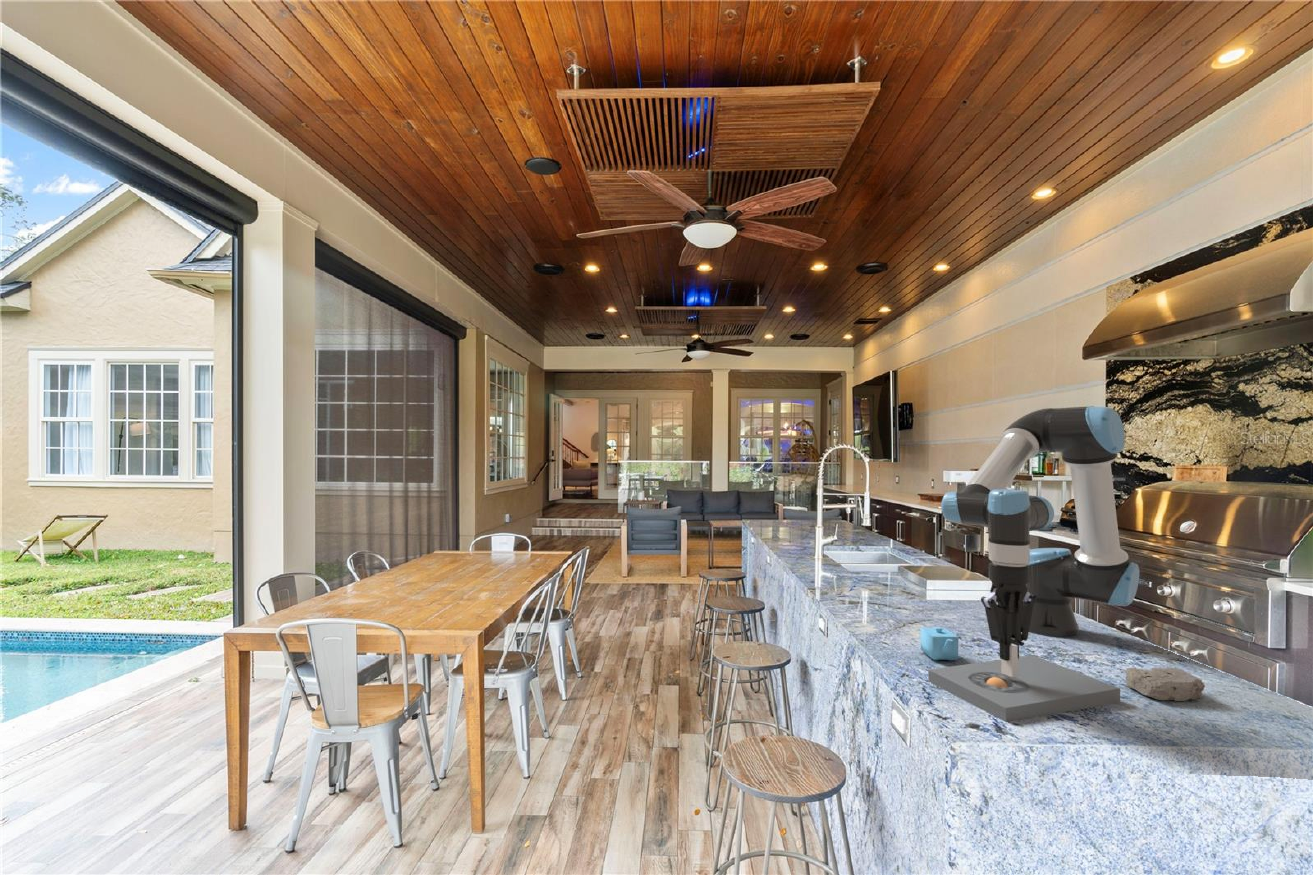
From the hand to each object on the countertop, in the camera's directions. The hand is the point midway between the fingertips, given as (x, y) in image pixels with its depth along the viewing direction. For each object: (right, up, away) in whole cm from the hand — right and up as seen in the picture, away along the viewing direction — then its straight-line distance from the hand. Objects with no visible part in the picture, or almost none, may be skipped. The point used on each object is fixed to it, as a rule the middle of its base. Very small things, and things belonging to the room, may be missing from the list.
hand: (1009, 674), depth 127 cm
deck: (+3, -4, +1) cm, 5 cm away
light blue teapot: (-5, -5, +21) cm, 22 cm away
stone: (+32, -2, +5) cm, 33 cm away
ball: (-3, -2, -1) cm, 4 cm away
